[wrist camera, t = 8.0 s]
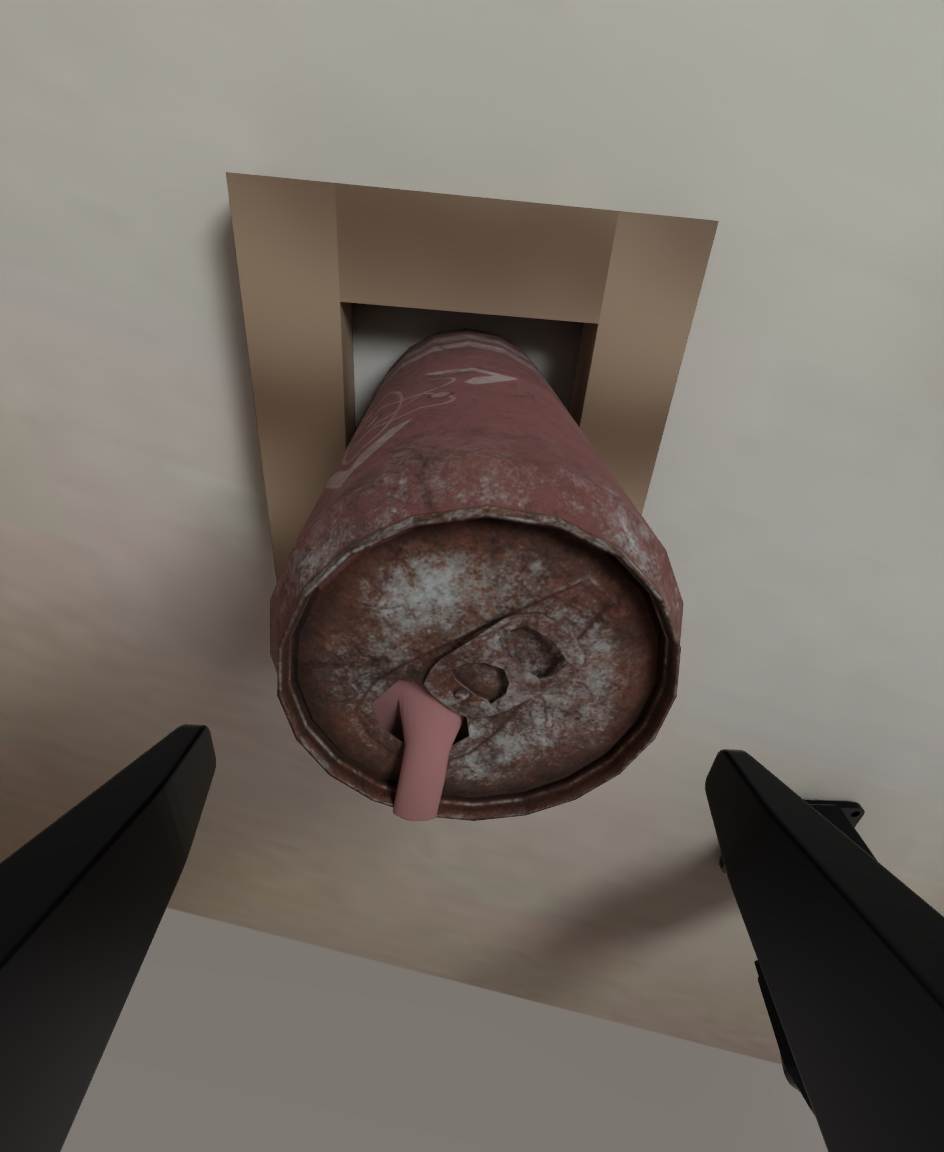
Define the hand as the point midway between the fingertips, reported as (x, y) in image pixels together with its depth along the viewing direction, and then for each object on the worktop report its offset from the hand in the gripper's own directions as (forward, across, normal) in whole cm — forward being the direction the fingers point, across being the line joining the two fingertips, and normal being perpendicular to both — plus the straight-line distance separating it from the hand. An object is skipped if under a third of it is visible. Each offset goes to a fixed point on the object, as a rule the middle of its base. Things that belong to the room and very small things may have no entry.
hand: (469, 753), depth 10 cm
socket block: (+13, 0, -2) cm, 13 cm away
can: (+13, 0, -2) cm, 13 cm away
